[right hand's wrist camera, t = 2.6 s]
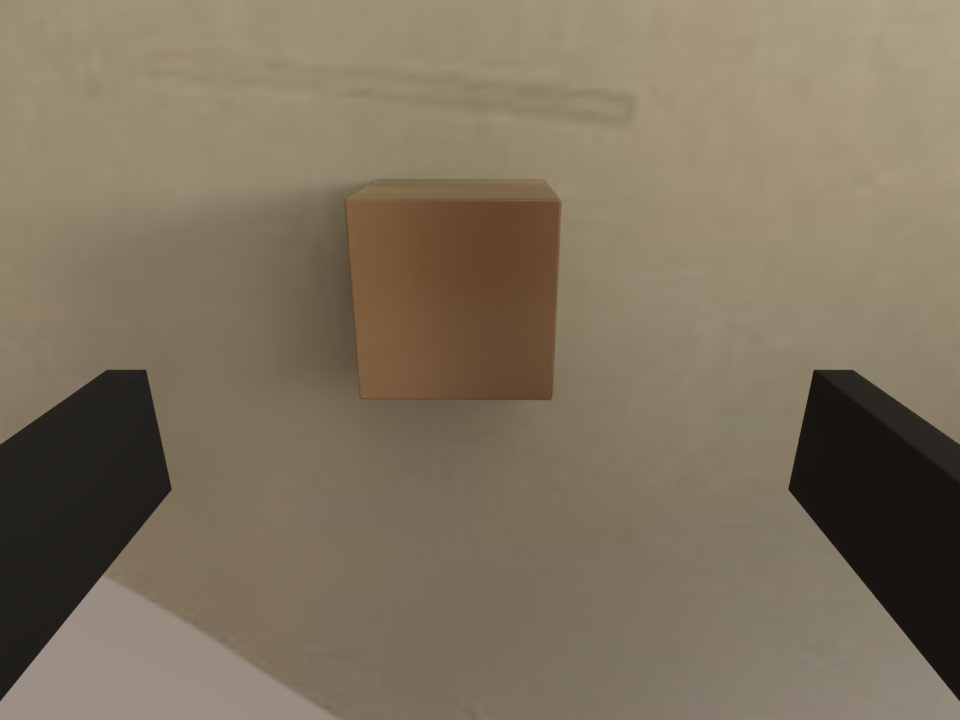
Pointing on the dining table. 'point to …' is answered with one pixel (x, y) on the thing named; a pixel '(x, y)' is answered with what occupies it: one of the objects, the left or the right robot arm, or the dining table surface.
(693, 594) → the dining table surface
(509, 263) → the block
